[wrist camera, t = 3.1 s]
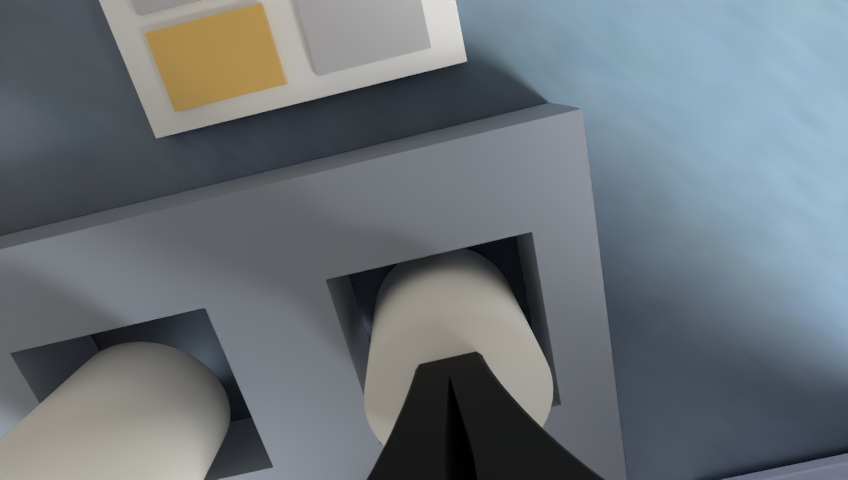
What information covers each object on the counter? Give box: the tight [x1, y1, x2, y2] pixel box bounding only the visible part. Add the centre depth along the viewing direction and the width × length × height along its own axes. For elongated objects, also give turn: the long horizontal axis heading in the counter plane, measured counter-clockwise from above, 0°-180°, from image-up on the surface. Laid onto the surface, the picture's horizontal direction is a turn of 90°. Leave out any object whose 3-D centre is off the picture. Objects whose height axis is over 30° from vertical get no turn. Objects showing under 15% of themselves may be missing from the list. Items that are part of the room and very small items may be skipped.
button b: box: [364, 248, 553, 446], centre depth 12 cm, size 4×4×4 cm
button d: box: [0, 342, 231, 480], centre depth 11 cm, size 4×4×4 cm
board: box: [0, 103, 627, 480], centre depth 15 cm, size 16×18×2 cm
